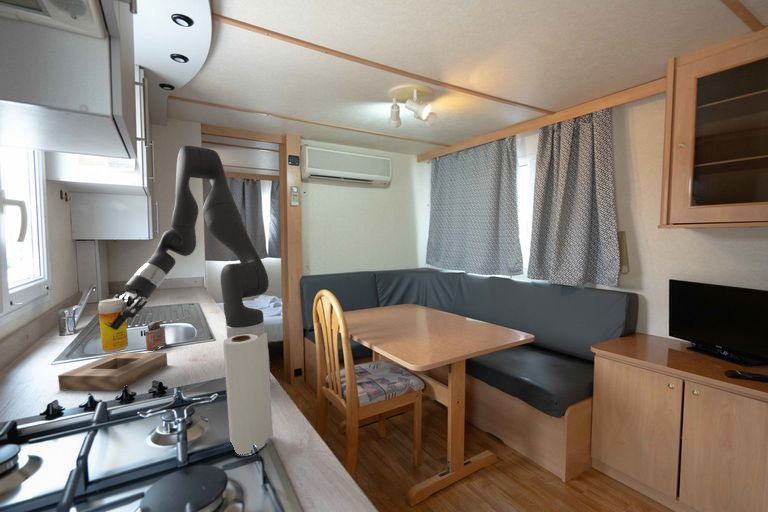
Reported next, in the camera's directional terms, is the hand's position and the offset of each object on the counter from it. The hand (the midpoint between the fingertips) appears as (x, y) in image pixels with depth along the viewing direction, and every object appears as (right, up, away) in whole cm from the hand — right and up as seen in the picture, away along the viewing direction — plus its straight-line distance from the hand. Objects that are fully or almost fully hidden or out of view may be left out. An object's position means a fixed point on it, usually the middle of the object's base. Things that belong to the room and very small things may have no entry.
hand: (106, 327), depth 101 cm
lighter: (-4, -14, +28) cm, 32 cm away
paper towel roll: (+55, -16, -35) cm, 67 cm away
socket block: (+1, -15, +2) cm, 15 cm away
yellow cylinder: (+1, -7, +2) cm, 8 cm away
